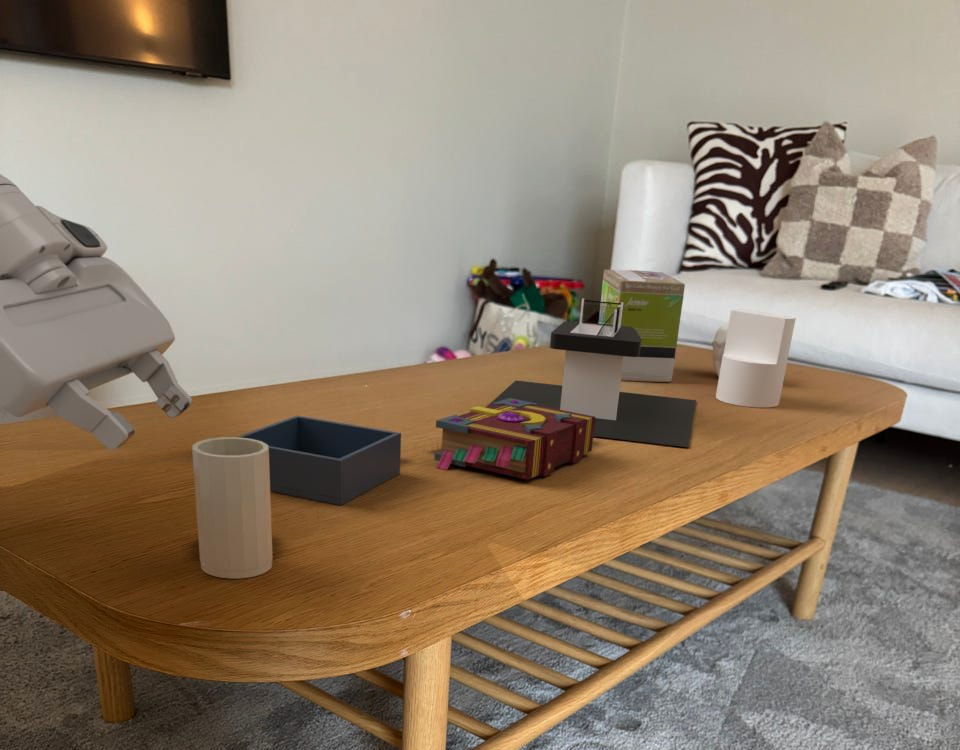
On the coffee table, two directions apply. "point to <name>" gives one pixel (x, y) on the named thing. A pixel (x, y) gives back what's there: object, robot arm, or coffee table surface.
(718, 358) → the penguin figurine
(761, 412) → the coffee table surface
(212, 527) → the cream cup
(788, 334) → the base with upright slab
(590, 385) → the black-topped pedestal
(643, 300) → the tea box
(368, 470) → the slate bin
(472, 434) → the decorative book
